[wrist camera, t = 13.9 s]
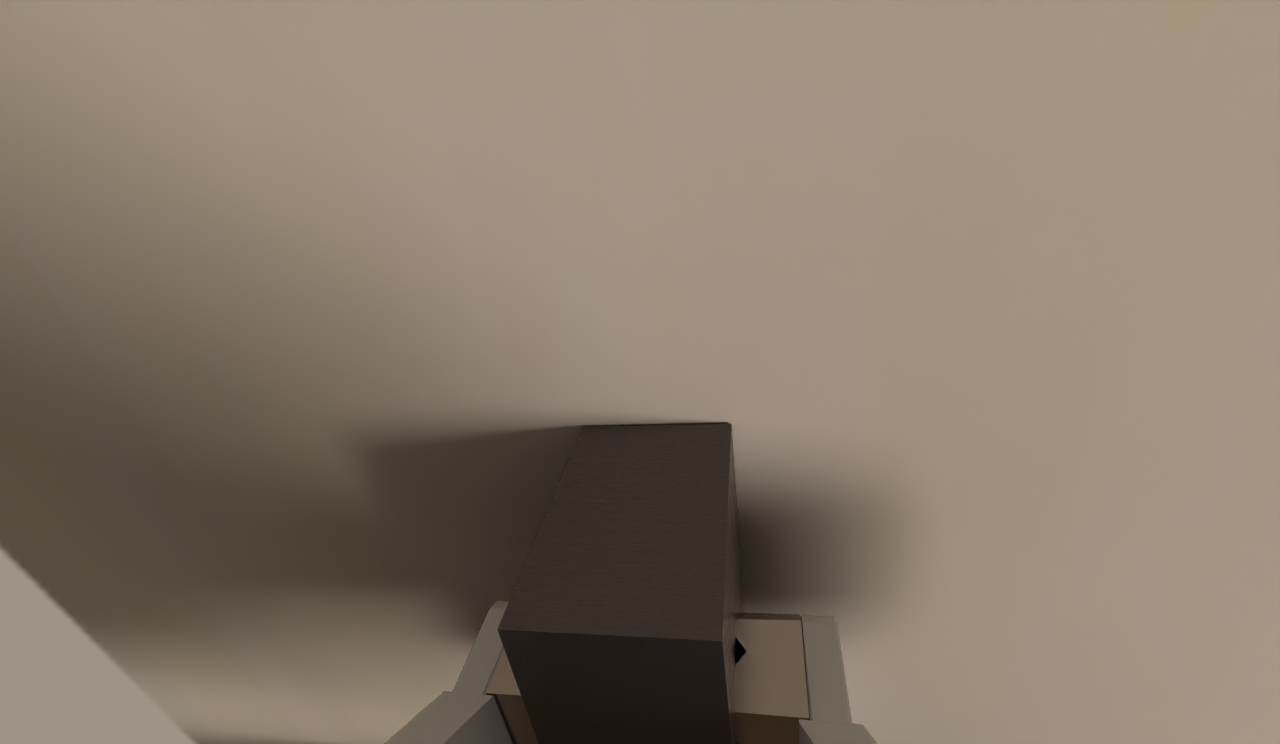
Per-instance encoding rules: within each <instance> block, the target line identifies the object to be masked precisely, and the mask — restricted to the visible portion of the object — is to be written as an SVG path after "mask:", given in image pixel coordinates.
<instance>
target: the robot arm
mask: <svg viewBox="0 0 1280 744" xmlns="http://www.w3.org/2000/svg"><path fill="white" fill-rule="evenodd" d="M508 603H509V602H506V601H496V602H495V604H494V605H493V606H492V607H491V608H490V609H489V611H488V613H487V615H486V618H485V620H484V622H483V624H482V627H481V629H480V631H479V633H478V636H477V638H476V640H475V642H474V645H473V647H472V649H471V651H470V654H469V656H468V658H467V660H466V663H465V665H464V667H463V669H462V672H461V674H460V676H459V678H458V681H457V683H456V685H455V687H454V690H453V692H446V691H444V692H443V693H442V694H441V695H439V696H438V697H437V698H436V699H435V700H434V701H433V702H431V703H430V704H429V705H428V706H427V707H426V708H425V709H423V710H422V711H421V712H420V713H419V714H418V715H416V716H415V717H414V718H413V719H412V720H411V721H410V722H408V723H407V724H406V725H405V726H404V727H403V728H402V729H400V730H399V731H398V732H397V733H396V734H395V735H394V736H392V737H391V738H390V739H389V740H388V741H387V742H385V743H384V744H538V741H537V738H536V735H535V733H534V730H533V727H532V724H531V721H530V719H529V716H528V713H527V710H526V708H525V705H524V702H523V699H522V697H521V694H520V691H519V688H518V686H517V683H516V680H515V677H514V674H513V672H512V669H511V666H510V663H509V661H508V658H507V655H506V652H505V650H504V647H503V644H502V641H501V639H500V636H499V633H498V630H497V629H498V627H499V624H500V622H501V619H502V617H503V615H504V612H505V610H506V607H507V605H508ZM736 648H737V660H738V663H737V664H736V665H735V697H734V715H735V726H736V737H737V742H739V744H877V742H876V741H875V740H874V738H873V737H872V736H871V735H870V733H869V732H868V731H867V729H866V728H865V727H864V725H861V724H853V723H852V720H851V713H850V706H849V699H848V693H847V686H846V679H845V672H844V665H843V659H842V652H841V645H840V638H839V632H838V625H837V622H836V620H835V618H834V617H832V616H804V615H801V617H800V614H771V613H738V612H737V616H736Z"/></svg>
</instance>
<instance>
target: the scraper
mask: <svg viewBox="0 0 1280 744" xmlns="http://www.w3.org/2000/svg"><path fill="white" fill-rule="evenodd" d="M737 612H738V613H744V604H743V589H742V575H741V560H740V545H739V530H738V515H737V500H736V486H735V471H734V456H733V441H732V426H731V424H689V425H637V426H586V427H582V428H581V431H580V433H579V435H578V438H577V440H576V443H575V445H574V447H573V450H572V452H571V455H570V457H569V459H568V462H567V464H566V466H565V469H564V471H563V474H562V476H561V478H560V481H559V483H558V486H557V488H556V490H555V493H554V495H553V498H552V500H551V502H550V505H549V507H548V509H547V512H546V514H545V517H544V519H543V521H542V524H541V526H540V529H539V531H538V533H537V536H536V538H535V541H534V543H533V545H532V548H531V550H530V552H529V555H528V557H527V560H526V562H525V564H524V567H523V569H522V572H521V574H520V576H519V579H518V581H517V584H516V586H515V588H514V591H513V593H512V595H511V598H510V600H509V603H508V605H507V607H506V610H505V612H504V615H503V617H502V619H501V622H500V624H499V627H498V629H497V630H498V633H499V636H500V639H501V641H502V644H503V647H504V650H505V652H506V655H507V658H508V661H509V663H510V666H511V669H512V672H513V674H514V677H515V680H516V683H517V686H518V688H519V691H520V694H521V697H522V699H523V702H524V705H525V708H526V710H527V713H528V716H529V719H530V721H531V724H532V727H533V730H534V733H535V735H536V738H537V741H538V744H739V742H737V737H736V726H735V715H734V697H735V665H736V664H737V663H738V660H737V648H736V616H737Z"/></svg>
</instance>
